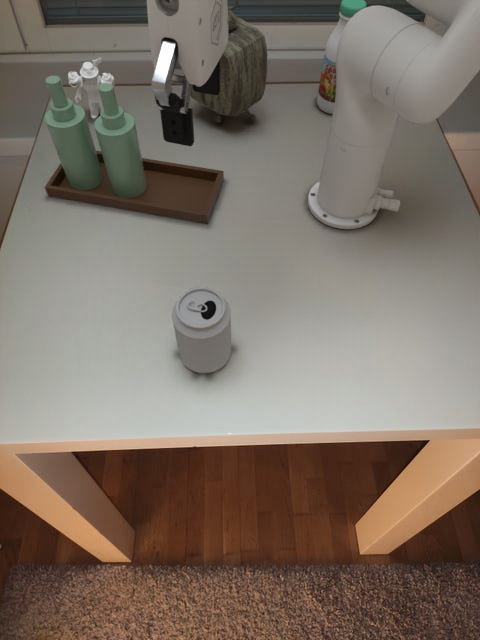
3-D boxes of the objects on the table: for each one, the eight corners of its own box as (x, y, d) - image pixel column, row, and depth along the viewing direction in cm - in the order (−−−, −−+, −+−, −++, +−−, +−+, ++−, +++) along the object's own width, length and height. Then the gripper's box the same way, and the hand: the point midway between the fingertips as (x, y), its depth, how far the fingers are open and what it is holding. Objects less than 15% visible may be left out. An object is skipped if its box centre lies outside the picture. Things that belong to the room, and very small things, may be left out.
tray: (223, 182, 88) (223, 170, 86) (207, 226, 82) (206, 215, 80) (75, 157, 92) (71, 146, 90) (49, 198, 86) (44, 187, 83)
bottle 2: (151, 177, 88) (133, 78, 72) (140, 201, 85) (118, 102, 69) (119, 172, 89) (93, 72, 73) (106, 195, 85) (76, 96, 69)
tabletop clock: (264, 121, 98) (272, -15, 77) (235, 142, 95) (236, 4, 74) (212, 94, 103) (207, -41, 82) (183, 113, 100) (170, -23, 79)
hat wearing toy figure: (123, 112, 100) (111, 54, 90) (120, 124, 98) (106, 66, 88) (81, 110, 100) (64, 53, 90) (76, 122, 98) (58, 64, 88)
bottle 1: (108, 170, 89) (81, 70, 73) (95, 193, 85) (63, 94, 70) (76, 165, 90) (42, 65, 74) (62, 187, 86) (23, 88, 70)
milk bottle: (315, 94, 104) (331, -9, 87) (350, 95, 104) (373, -8, 87) (317, 115, 100) (334, 11, 83) (354, 116, 100) (378, 13, 83)
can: (225, 380, 66) (223, 336, 56) (173, 370, 67) (162, 325, 57) (236, 335, 70) (236, 286, 60) (187, 326, 71) (179, 277, 61)
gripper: (193, -28, 33) (202, 172, 47) (253, -106, 42) (245, 80, 57) (93, -43, 34) (132, 157, 48) (173, -116, 43) (186, 70, 58)
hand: (193, 116), depth 52 cm, fingers open, 9 cm apart
